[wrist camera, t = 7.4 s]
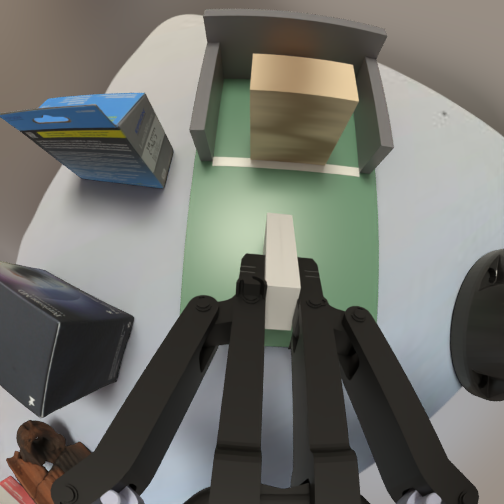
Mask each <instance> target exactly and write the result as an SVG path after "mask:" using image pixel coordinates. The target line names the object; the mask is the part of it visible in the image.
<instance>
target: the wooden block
mask: <svg viewBox="0 0 504 504" xmlns="http://www.w3.org/2000/svg"><path fill="white" fill-rule="evenodd" d="M358 102H359V99H358V92H357V86H356V80H355V74H354V68H353V65H351V64H345V63H340V62H334V61H327V60H320V59H313V58H304V57H295V56H284V55H271V54H253V60H252V71H251V83H250V160H265V161H280V162H293V163H305V164H316V165H325V164H326V163H327V161H328V159H329V157H330V155H331V153H332V151H333V150H334V148H335V146H336V144H337V142H338V140H339V138H340V136H341V135H342V133H343V131H344V129H345V127H346V125H347V123H348V121H349V120H350V118H351V116H352V114H353V112H354V110H355V108H356V106H357V104H358Z"/></svg>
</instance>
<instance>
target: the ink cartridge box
mask: <svg viewBox="0 0 504 504" xmlns="http://www.w3.org/2000/svg"><path fill="white" fill-rule="evenodd" d="M0 504H36V503H35V502H34V501H33V500H32V498H31V497H30V496H29V495H28V493H27V492H26V491H25V489H24V488H23V487H22V486H21V485H20V484H19V483H18V482H17V481H15V480H14V479H13V478H12V477H11V476H9V477H8V478H6V479H5V480H3V481H1V482H0Z"/></svg>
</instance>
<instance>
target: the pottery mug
mask: <svg viewBox="0 0 504 504" xmlns="http://www.w3.org/2000/svg"><path fill="white" fill-rule="evenodd" d="M37 437H38V438H37ZM17 443H18V445H19V447H20V452H18V451H15V453H14V456H13V457H11V458H7V459H6V461H7V463H8V465H9V467H10V468H11V470H12V471H13V473H14V474H15V477H16V478H17V480H18V481H19V482H20V484H21V485H22V486H23V488H24V489H25V491H26V492H27V493H28V495H29V496H30V497H31V498H32V500H33V501H34V502H35V503H36V504H54V502H53V500H52V498H51V492H50V490H51V486H52V484H53V483H54V481H55V480H56V479H57V478H59V477H60V476H62V475H63V474H64V473H66V472H67V471H68V470H70V469H71V468H73V467H74V466H75V465H77V464H78V463H79V462H81V461H82V460H83V459H85V458H86V457H87V456H89V455H90V454H91V453H90V452H89V451H88V449H87V448H86V447H85V446H84V445H83V444H82V443H81V442H78V443H76V444H74V445H70V446H66V445H65V444H66V441H65V438H64V436H63V435H61V434H58V433H56V432H55V431H54V429H53V428H52V427H51V426H49V425H48V424H46V423H44V422H41V421H32V420H29V421H27V422H25V423H23V424H22V425H21V426H20V427H19V429H18V431H17ZM46 461H47V462H51V463H53V467H52V468H51V469H50V471H49V472H48V471H47V469H46V468H45V467H44V466H43V464H44V463H45V462H46Z"/></svg>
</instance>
